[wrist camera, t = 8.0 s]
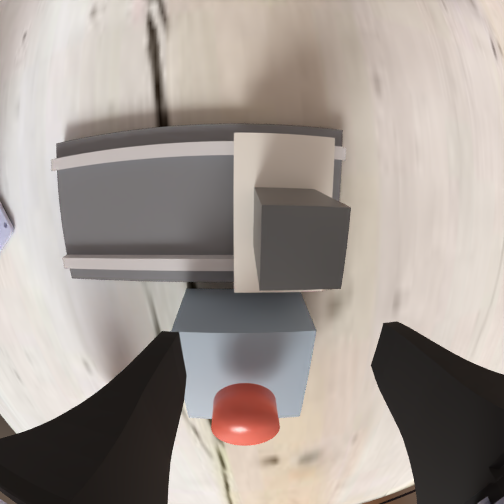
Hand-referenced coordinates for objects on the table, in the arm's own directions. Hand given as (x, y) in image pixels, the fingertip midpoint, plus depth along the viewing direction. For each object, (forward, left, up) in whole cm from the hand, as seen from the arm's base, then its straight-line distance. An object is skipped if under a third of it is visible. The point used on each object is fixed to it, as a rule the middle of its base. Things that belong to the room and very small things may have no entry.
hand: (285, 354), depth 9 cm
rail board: (-5, -2, -10) cm, 12 cm away
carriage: (-2, +2, -8) cm, 9 cm away
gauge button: (+5, -5, -3) cm, 8 cm away
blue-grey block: (+5, -5, -10) cm, 12 cm away
